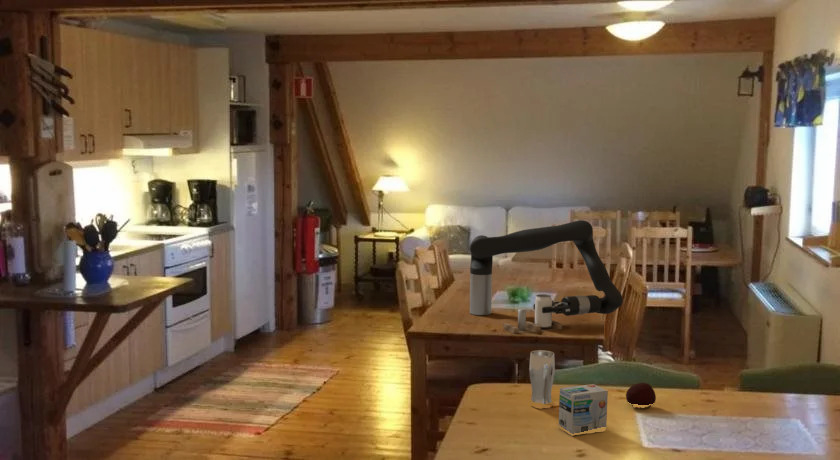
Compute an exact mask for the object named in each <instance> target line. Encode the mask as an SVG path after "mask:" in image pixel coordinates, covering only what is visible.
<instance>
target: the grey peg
mask: <svg viewBox="0 0 840 460" xmlns="http://www.w3.org/2000/svg"><path fill="white" fill-rule="evenodd" d="M526 322H527V309H526V308H518V309H517V327H518V328H519V331H525V330H526Z"/></svg>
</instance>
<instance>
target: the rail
mask: <svg viewBox="0 0 840 460" xmlns="http://www.w3.org/2000/svg"><path fill="white" fill-rule="evenodd" d="M502 329H503V330H504V331H507V332H509V333H511V334H514V335H515V334H528V333H539V332H549V331H561V330H563V324H562V323H561V322H560V323H559V322H557V321H555V320H552V325H551V327H547V328H542V327H541V326H539V325H537V324H535V322H531V321H526V330H525V331H519V328H518V326H515V325H512V324H510V323H507V322H505V323H502Z"/></svg>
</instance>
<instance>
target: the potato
mask: <svg viewBox="0 0 840 460" xmlns="http://www.w3.org/2000/svg"><path fill="white" fill-rule="evenodd" d="M656 395H657V394H656V392H655V390H654V388H653V387H652V385H650V384H649V383H647V382H639V383H636V384H633V385H631V386H630V387H629V388H628V389H627V391H626V393H625V398H626V402H627V403H628V402H629V403H631V404H638V405H649V404H653V403H654V404H655V403H656V401H657V400H656V399H657V396H656ZM629 403H628V404H629ZM654 404H653V405H654Z"/></svg>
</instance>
